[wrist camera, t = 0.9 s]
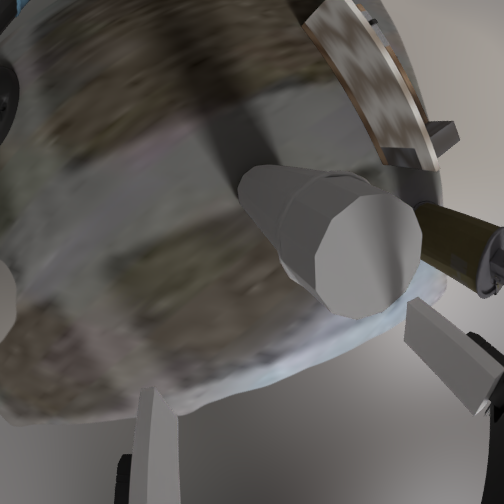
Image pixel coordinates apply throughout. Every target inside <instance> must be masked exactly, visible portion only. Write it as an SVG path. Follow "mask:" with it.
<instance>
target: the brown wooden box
mask: <svg viewBox="0 0 504 504" xmlns="http://www.w3.org/2000/svg"><path fill="white" fill-rule="evenodd" d="M362 11H366V10H365V9H364V7H363V6H362V5H361V4H357V5H355V4H354V3H353V1H352V0H325V1H324V2H323V3H322V4H321V5H320V6H319V7H318V8H317V9H316V11H315V12H314V13H313V14H312V15H311V16H310V17H309V18H308V19H307V20H306V22H305V23H304V24H303V25H302V26H301V27H302V28H303V29H304V31H305V32H306V33H307V35H308V36H309V37H310V39H311V40H312V41H313V43H314V44H315V46H316V47H317V48H318V50H319V51H320V53H321V54H322V56H323V57H324V58H325V60H326V61H327V63H328V64H329V66H330V67H331V69H332V71H333V72H334V74H335V75H336V77H337V78H338V80H339V82H340V83H341V85H342V87H343V88H344V90H345V92H346V93H347V95H348V97H349V98H350V100H351V102H352V104H353V105H354V107H355V109H356V111H357V113H358V115H359V116H360V118H361V120H362V122H363V124H364V126H365V128H366V130H367V132H368V134H369V136H370V138H371V140H372V142H373V144H374V146H375V148H376V150H377V152H378V155H379V157H380V159H381V161H382V163H383V165H391V166H399V167H407V168H414V169H421V170H427V171H433V172H437V171H438V170H439V169H440V166H439V162H438V159H437V158H438V157H440V156H441V155H442V154H443V153H445V152H446V151H447V150H448V149H450V148H451V147H452V146H453V145H455V144H456V143H457V142H458V141H460V138H459V135H458V132H457V129H456V126H455V124H454V121H433V122H432V121H431V122H428V119H427V117H426V115H425V112H424V110H423V108H422V105H421V103H420V101H419V99H418V97H417V95H416V93H415V90H414V88H413V86H412V84H411V82H410V80H409V79H408V77H407V75H406V73H405V71H404V69H403V67H402V66H401V64H400V62H399V60H398V59H397V57H396V55H395V53H394V52H393V50H392V48H391V47H390V45H389V46H387V47H384V45H383V43H382V42H381V40H380V39H379V37H378V36H377V34H376V33H375V31H374V30H373V28H372V27H371V25H370V24H369V23H368V21H367V20H366V18H365V17H364V16H363V14H362V13H361V12H362Z"/></svg>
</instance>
